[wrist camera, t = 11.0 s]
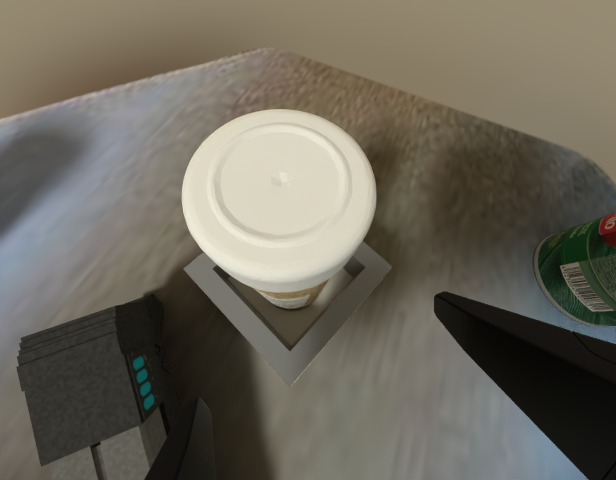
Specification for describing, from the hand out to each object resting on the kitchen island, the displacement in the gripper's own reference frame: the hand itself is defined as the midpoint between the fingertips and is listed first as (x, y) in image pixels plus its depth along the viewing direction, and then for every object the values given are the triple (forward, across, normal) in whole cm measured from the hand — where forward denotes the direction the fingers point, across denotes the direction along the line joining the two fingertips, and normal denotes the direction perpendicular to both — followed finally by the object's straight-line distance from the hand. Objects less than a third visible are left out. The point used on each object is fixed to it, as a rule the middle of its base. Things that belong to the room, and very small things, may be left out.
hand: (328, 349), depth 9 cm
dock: (+10, 0, +4) cm, 11 cm away
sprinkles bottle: (+9, 0, +3) cm, 10 cm away
